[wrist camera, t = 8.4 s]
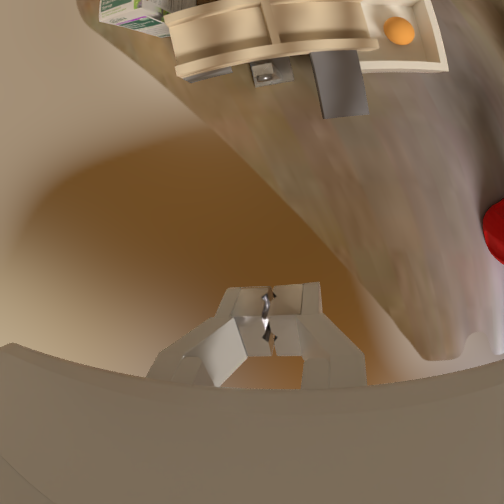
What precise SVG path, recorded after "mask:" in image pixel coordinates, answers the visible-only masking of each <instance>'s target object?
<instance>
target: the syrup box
mask: <svg viewBox="0 0 504 504" xmlns="http://www.w3.org/2000/svg"><path fill="white" fill-rule="evenodd" d="M196 2H197V1H196V0H100V7H99V21H100V22H104V23H109V24H113V25H117V26H122V27H126V28H129V29H133V30H137V31H140V32H144V33H147V34H150V35H154V36H157V37H161V38H162V37H169V36H170V31H169V27H168V26H167V25H166V24H165V21H164V17H163V16H165V15H168V14H171V13H174V12H177V11H180V10H184V9H187V8H191V7H195V6H196Z"/></svg>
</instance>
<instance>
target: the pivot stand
mask: <svg viewBox="0 0 504 504" xmlns="http://www.w3.org/2000/svg"><path fill="white" fill-rule="evenodd" d="M250 66H251V70H252V74H253V78H254V83H255V87H262V86H267V85H272V84H278V83H283V82H290V81H294V77H293V73H292V68H291V64H290V60H289V56H286V57H278V58H271V59H265V60H259V61H253V62H250Z"/></svg>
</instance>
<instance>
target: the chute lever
mask: <svg viewBox="0 0 504 504" xmlns="http://www.w3.org/2000/svg"><path fill="white" fill-rule="evenodd" d="M361 1H363V0H220V1H215V2H211V3H206V4H202V5H198V6H195V7H191V8H187V9H184V10H180V11H177V12H174V13H171V14H168V15H165V16H163V17H164V21H165V24H166V25H167V26H168V27H169V31H170V36H171V40H172V44H173V49H174V53H175V57H176V61H177V66H175V69H176V74H177V76H178V77H180V78H182V79H184V80H186V81H188V82H190V83H193V82H197V81H200V80H204V79H208V78H212V77H216V76H220V75H224V74H229V73H232V69H231V66H233V65H238V64H243V63H248V62H253V61H259V60H265V59H271V58H278V57H286V56H294V55H303V54H309V56H310V60H311V64H312V68H313V73H314V77H315V82H316V87H317V91H318V96H319V101H320V106H321V112H322V117H323V119H328V118H337V117H346V116H356V115H368V114H369V110H368V103H367V98H366V92H365V87H364V81H363V76H362V71H361V67H360V62H359V58H358V54H357V51H372V50H375V49H377V48H379V44H378V40H377V39H371V38H370V34H369V30H368V27H367V23H366V20H365V16H364V13H363V10H362V7H361V3H360V2H361Z"/></svg>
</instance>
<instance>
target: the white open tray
mask: <svg viewBox="0 0 504 504" xmlns="http://www.w3.org/2000/svg"><path fill="white" fill-rule="evenodd" d="M360 3H361V7H362V10H363V13H364V16H365V20H366V23H367V27H368V30H369V34H370V38H371V39H377V40H378V44H379V48H377V49H375V50H372V51H357V54H358V58H359V62H360V67H361V71H362V73H374V72H418V73H439V72H446V71H449V69H448V64H447V59H446V54H445V50H444V45H443V41H442V37H441V34H440V30H439V26H438V23H437V19H436V16H435V13H434V10H433V7H432V4H431V1H430V0H363V1H361V2H360ZM391 17H401V18H404V19H406V20H407V21H408V22H409V23H410V24H411V25H412V26H413V28H414V32H415V36H414V39H413V41H412V42H411V43H409V44H407V45H398V44H395V43H393V42H391V41H390V40H389V39H388V38H387V37H386V35H385V33H384V23H385V22H386V20H387V19H389V18H391Z"/></svg>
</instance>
